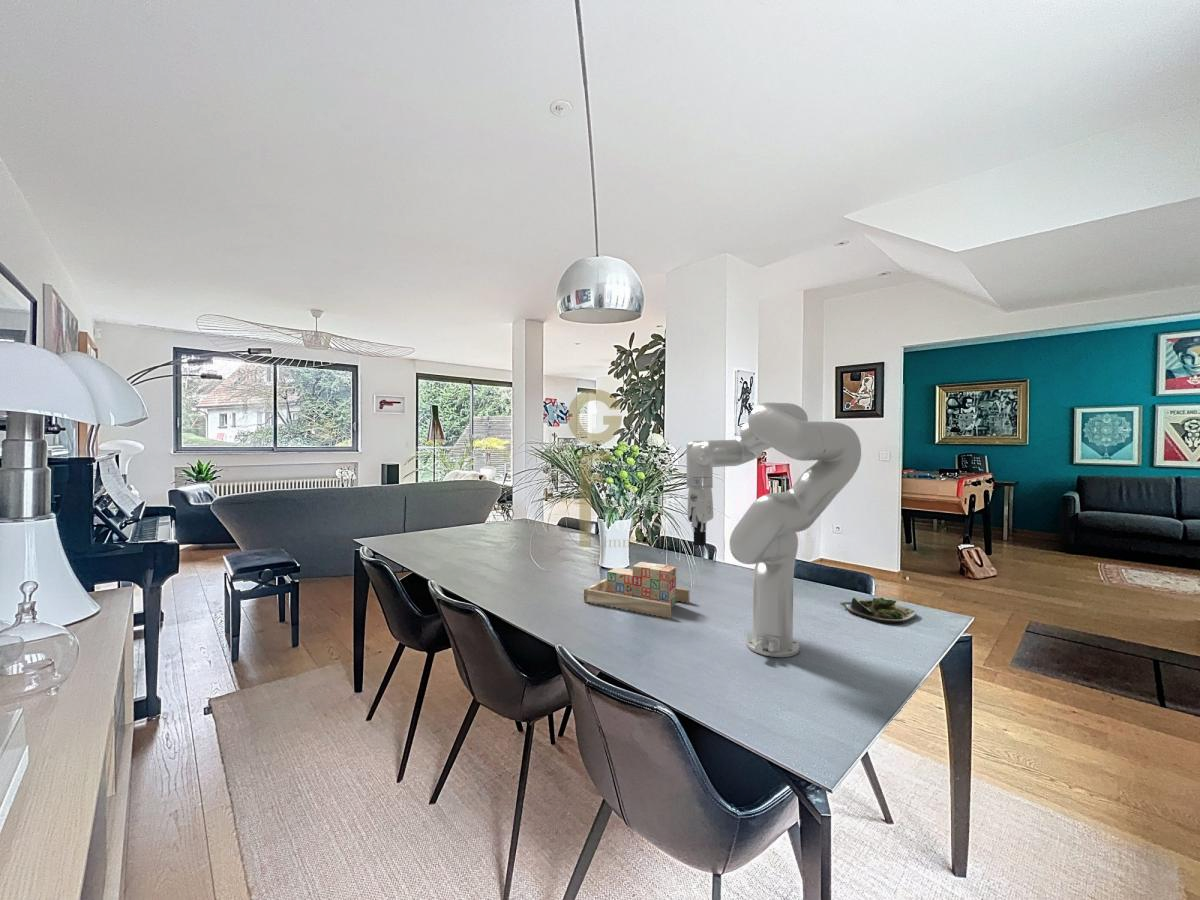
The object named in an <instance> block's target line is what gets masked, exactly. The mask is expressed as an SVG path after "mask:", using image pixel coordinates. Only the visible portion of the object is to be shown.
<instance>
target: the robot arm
mask: <svg viewBox="0 0 1200 900" xmlns="http://www.w3.org/2000/svg"><path fill="white" fill-rule="evenodd" d="M739 433H740V434H739V435H740V437H738V438H735V439H718V440H715V439H713V440H693V441H692V440H691V441H688V442H687V444H686V488H687V489H688V494H687V521H689V522H690V523H691V527H692V531H693V545H694V546H700V547H701V546H702V547H703V546H705V545H706V544H707V523H708V522H710V521H711V520H713V518H714V502H713V501H714V500H713V499H714V498H713V490H712V489H713V483H714V481H713V475H714V474H713V468H720V467H721V468H722V467H723V468H724V467H738V466H740V465H743V464H746V463H748V462H751V461H753V460H755V459H758V458H759V457H760V456H761V455H762V454H763V452H764V451H766V450H769V449H770V448H773V449H775V450H776V451H778V452H779V453H781V454H782V455H785V456H786V457H788V458H790V459H793V460H796V461H801V462H804V461H805V462H806V461H807V462H809V461H816V462H815V463H814V464H813V465H812V466H809V468H807V469H806V470H805V471H804V472H802V474H801V475H800V476H799V478H798V479H797V480H796V482H795V483H794V484H793V485H792V486H791V487H790V488H789V489H788V490H785V491H782V492H774V493H773V492H771V493H768V494H767V493H766V494H764V495H762V496H760V497H758V498H756V499H755V500H754V501H753V502H752V504H751V505H750V506H749V508H748V509H747V511H746V512H745V514H743V516H742V517H741V519H740V520H739V521H738V523H737V524H736V526H734V527H733V528H734V529H733V530H732V532H731V534H730V538H729V551H730V553H731V556H732V557H733V558H734V559H735V560H736V561H737V562H738V563H741V564H744V565H755V567H754V570H753V575H752V576H753V578H752V634H750V635H749V636H747V637H746V640H745V641H746V642H745V643H746V647H747V648H748V649H749V650H751V651H752V652H754V653H757V654H760V655H763V656H767V657H773V658H789V657H794V656H796V655H797V654H799V652H800V645H799V642H797V640H795V639H794V580H795V579H794V573H795V564H796V559H797V555H798V550H799V549H798V547H799V537H798V535H797V533H799V532H803V531H806V530H808V529H809V528H811V526H813V524H814V523H815V522H816V520H818V518H819V517H820V516H821V514H822V513H824V511H825V510H826V509H827V507H828V506H829V505H830V504H831V503H832V502H833V500H834V499H835V498H836V497H837V495H838V494H839V493H840V492H841V491H842V490H843V489H844V488H845V487H846V486H847V485H848V484H849V482H851V480H852V478H853V477H854V476H855V474H856V472H857V470H858V468H859V466H860V464H861V463H860V462H861V458H862V444H861V441H860V438H859V436H858V434H857V433H856V431H855V430H854V429H853V428H852V427H850V426H849V425H847V424H845V423H842V422H838V421H837V422H836V421H809V418H808V415H807V413H806V411H805V409H803V407H802V406H800V405H797V404H794V403H789V402H763V403H760V404H757V405H756V406H755V407H754V408H753V409H752V410H751V411H750V413H749V415H748V418H747V421H746V422H744V423H743V424H742V426H741V428H740V431H739Z"/></svg>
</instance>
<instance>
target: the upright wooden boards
mask: <svg viewBox="0 0 1200 900" xmlns="http://www.w3.org/2000/svg"><path fill="white" fill-rule="evenodd" d="M607 584H608V581H607V577H606V578H604V579H602V580H600V581H598V582H596V583H594V584H592V585H590V586H588V587H586V588H584V589H583V602H584V601H585V602H584V603H587V602H590V603H589V604H592V603H596V604H595V605H597V604H601V605H600V606H602V605H607V606H612V607H611V608H613V607H616V608H615V609H618V608H621V609H620V610H623V609H627V610H626V611H628V610H631V611H630V612H633V611H636V612H635V613H639V612H641V613H640V614H644V613H646V614H645V615H649V614H651V616H654V615H656V616H655V617H659V616H662V617H661V618H665V617H667V618H666V619H670V617H671V618H672V608H671V603H665V602H659V601H654V600H648V599H642V598H637V597H631V596H625V595H620V594H614V593H608V590H607ZM606 591H607V592H606ZM690 592H691V591H690V589H688V588H684V587H683V588H681V587H676V602H678V601H681V602H680V603H684V602H686V604H690V601H691V600H690V598H691V597H690V595H691V594H690ZM607 606H606V607H607Z"/></svg>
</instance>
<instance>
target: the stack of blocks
mask: <svg viewBox="0 0 1200 900" xmlns="http://www.w3.org/2000/svg"><path fill="white" fill-rule="evenodd" d="M606 574H607V576H606V578H607V581H608V584H607V590H608V591H607V592H608V593H614V594H620V595H625V596H631V597H637V598H642V599H648V600H654V601H659V602H665V603H671V607H672V608H673V606H674V605H675V604H676V603H677V601H676V588H677V567H676V566H671V565H667V564H663V563H662V564H661V563H652V562H645V561H640V562H638V563H636V564H634V565H633V566H632V569H631V568H623V567H617V566H616V567H614V568H612V569H610V570H608V571H607V572H606ZM676 605H677V604H676ZM676 605H675V606H676ZM675 606H674V607H675Z"/></svg>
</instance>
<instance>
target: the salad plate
mask: <svg viewBox="0 0 1200 900" xmlns="http://www.w3.org/2000/svg"><path fill="white" fill-rule="evenodd" d="M896 602H897V600H894V599H890V598H889V597H886V599H885V598H883V597H877V598H876V597H872V599H868V598H867V599H866V598H865V599H864V598H863V599H859V598H858V597H853V598H852V599H851V601H847V602H846V601H844V602H840V603H839V604H840V605H842V606H843V607H844V608H845V609H846V610H847V611H848V613H849V614H850V615H852V616H855V617H858V618H861V619H865V620H866V621H867V620H868V621H870V622H874V623H878V624H884V625H891V626H893V625H903V624H905V623H907V622H909V621H910V620H912V619H913V618H915V616H917V612H916V610H913V609H912V608H909V607H904V606H900V605H896ZM897 603H898V602H897Z"/></svg>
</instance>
